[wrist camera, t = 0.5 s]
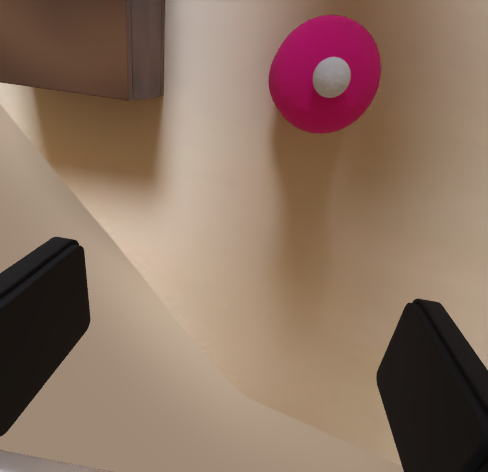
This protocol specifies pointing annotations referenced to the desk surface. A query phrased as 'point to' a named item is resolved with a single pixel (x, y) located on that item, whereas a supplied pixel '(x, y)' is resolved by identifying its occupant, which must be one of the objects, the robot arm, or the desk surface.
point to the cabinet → (84, 46)
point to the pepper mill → (325, 74)
